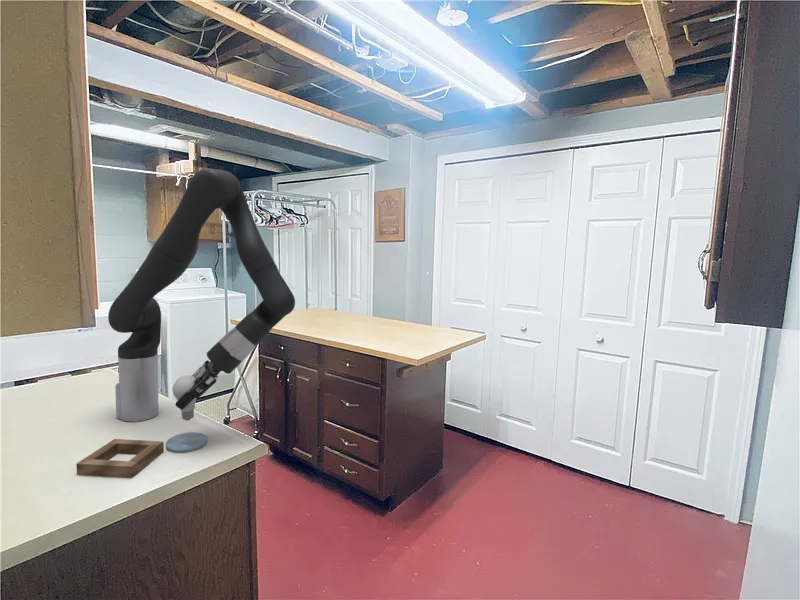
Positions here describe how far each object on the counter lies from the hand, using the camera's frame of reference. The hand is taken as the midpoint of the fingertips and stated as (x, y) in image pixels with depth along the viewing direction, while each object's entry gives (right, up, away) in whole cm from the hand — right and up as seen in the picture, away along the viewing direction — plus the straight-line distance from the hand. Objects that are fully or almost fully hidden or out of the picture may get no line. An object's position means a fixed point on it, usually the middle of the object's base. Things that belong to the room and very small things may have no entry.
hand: (179, 402), depth 102 cm
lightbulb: (+1, -5, +1) cm, 5 cm away
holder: (-8, -11, -8) cm, 16 cm away
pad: (+1, -11, +2) cm, 11 cm away
